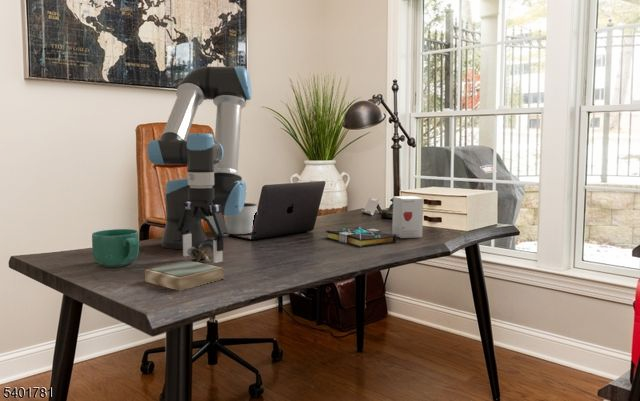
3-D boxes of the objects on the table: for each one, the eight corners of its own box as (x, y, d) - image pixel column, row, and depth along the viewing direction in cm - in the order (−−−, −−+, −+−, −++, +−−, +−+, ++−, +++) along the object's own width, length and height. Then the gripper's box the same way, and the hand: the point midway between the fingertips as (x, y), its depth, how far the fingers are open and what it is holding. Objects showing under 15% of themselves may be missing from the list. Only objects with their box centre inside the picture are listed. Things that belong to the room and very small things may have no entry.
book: (397, 243, 191) (398, 230, 191) (360, 249, 182) (361, 234, 181) (359, 235, 209) (360, 222, 209) (324, 239, 200) (324, 226, 199)
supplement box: (400, 238, 199) (401, 198, 198) (391, 234, 208) (392, 196, 206) (423, 237, 201) (424, 198, 200) (413, 233, 210) (414, 195, 208)
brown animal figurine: (215, 261, 155) (223, 249, 164) (200, 241, 154) (209, 230, 162) (194, 273, 157) (203, 261, 165) (180, 254, 155) (189, 243, 164)
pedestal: (144, 281, 136) (144, 269, 136) (189, 271, 147) (188, 259, 147) (179, 291, 128) (179, 277, 128) (223, 279, 139) (223, 267, 139)
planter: (221, 231, 212) (220, 203, 211) (251, 229, 218) (250, 202, 217) (230, 236, 201) (230, 207, 200) (262, 234, 207) (262, 205, 206)
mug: (86, 264, 155) (84, 232, 154) (127, 257, 164) (126, 227, 163) (110, 274, 144) (108, 239, 142) (153, 267, 152) (152, 234, 151)
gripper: (163, 185, 160) (165, 255, 162) (220, 190, 145) (221, 267, 147) (184, 183, 166) (185, 251, 168) (240, 188, 150) (241, 262, 153)
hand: (202, 258), depth 157 cm, fingers open, 13 cm apart
